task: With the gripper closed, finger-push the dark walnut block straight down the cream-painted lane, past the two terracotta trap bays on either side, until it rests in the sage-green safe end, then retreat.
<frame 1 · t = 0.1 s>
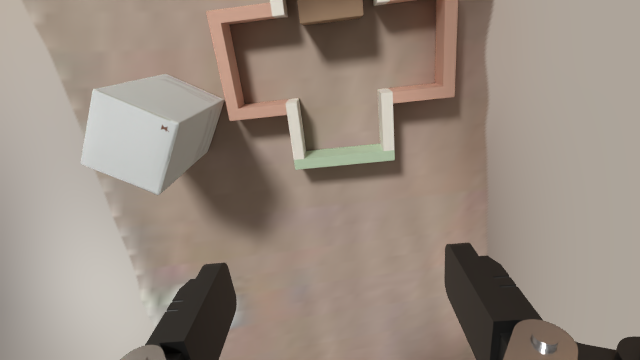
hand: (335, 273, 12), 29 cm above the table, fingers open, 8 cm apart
corral: (334, 52, 37), on the table
supplement box: (188, 114, 40), on the table
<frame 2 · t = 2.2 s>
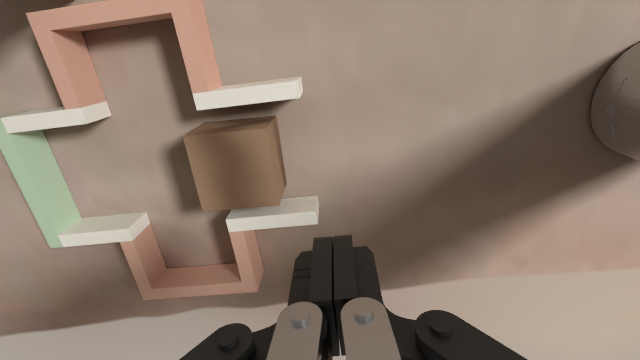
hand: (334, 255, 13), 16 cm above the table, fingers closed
walnut block: (247, 153, 29), on the table
corral: (179, 161, 29), on the table
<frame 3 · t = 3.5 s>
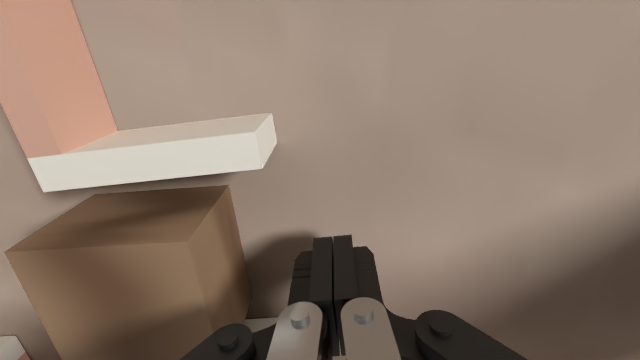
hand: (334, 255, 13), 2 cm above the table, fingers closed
walnut block: (179, 246, 16), on the table
corral: (57, 259, 16), on the table
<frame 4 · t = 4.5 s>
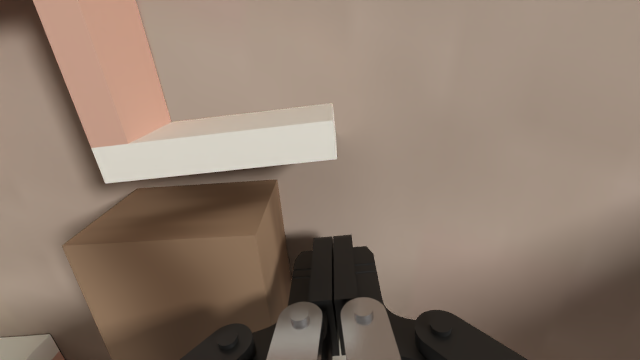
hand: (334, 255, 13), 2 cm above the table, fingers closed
walnut block: (221, 242, 15), on the table, touching gripper
corral: (99, 255, 16), on the table
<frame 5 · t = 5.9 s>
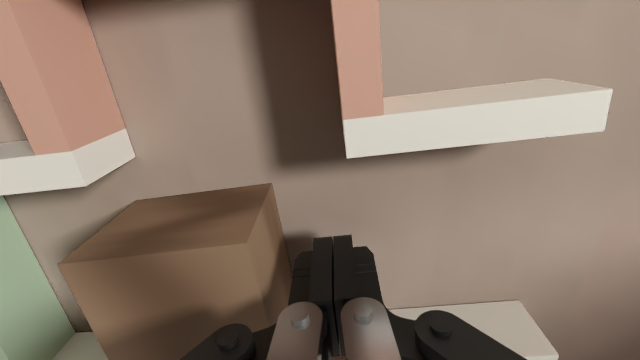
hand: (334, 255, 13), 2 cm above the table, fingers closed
walnut block: (220, 251, 15), on the table, touching gripper
corral: (263, 241, 15), on the table
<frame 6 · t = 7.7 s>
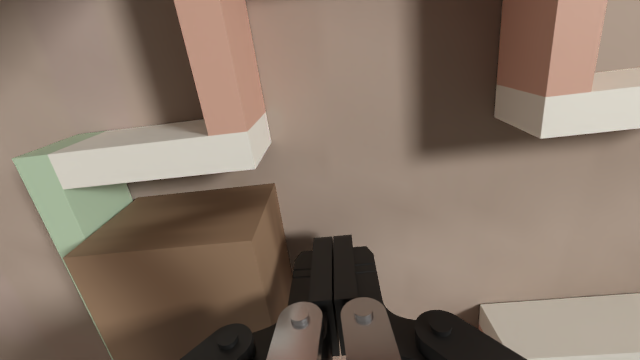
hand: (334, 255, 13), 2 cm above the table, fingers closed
walnut block: (222, 248, 15), on the table
corral: (391, 230, 15), on the table
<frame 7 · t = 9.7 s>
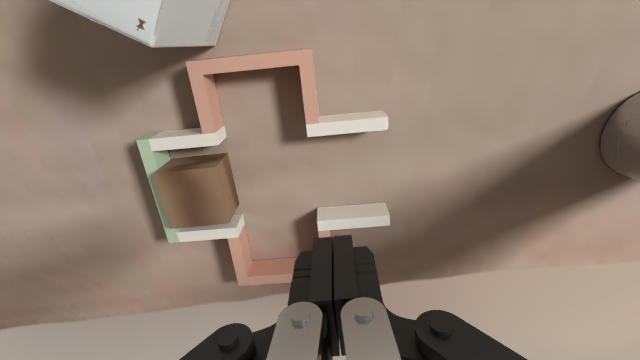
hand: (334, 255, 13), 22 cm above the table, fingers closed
walnut block: (206, 181, 37), on the table
corral: (276, 173, 36), on the table
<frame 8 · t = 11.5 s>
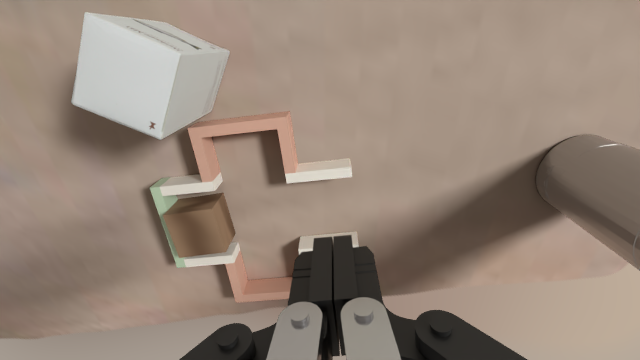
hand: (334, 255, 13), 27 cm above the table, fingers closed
walnut block: (207, 216, 44), on the table
corral: (264, 209, 43), on the table
supplement box: (190, 68, 37), on the table
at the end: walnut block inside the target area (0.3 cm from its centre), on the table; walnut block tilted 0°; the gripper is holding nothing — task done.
